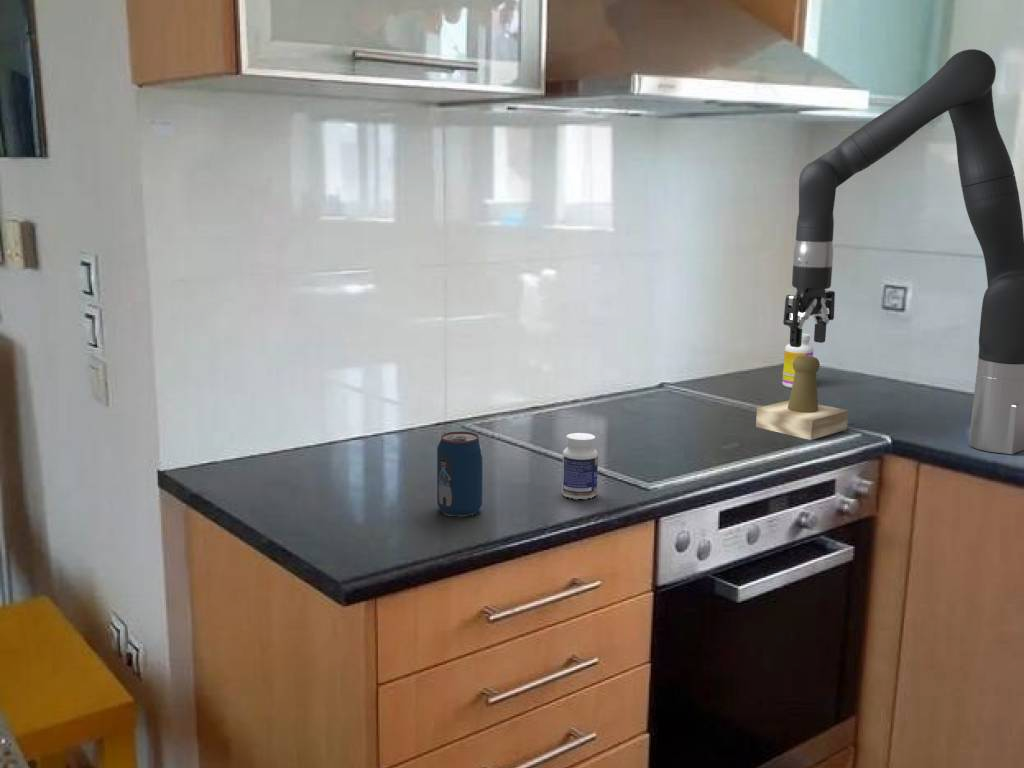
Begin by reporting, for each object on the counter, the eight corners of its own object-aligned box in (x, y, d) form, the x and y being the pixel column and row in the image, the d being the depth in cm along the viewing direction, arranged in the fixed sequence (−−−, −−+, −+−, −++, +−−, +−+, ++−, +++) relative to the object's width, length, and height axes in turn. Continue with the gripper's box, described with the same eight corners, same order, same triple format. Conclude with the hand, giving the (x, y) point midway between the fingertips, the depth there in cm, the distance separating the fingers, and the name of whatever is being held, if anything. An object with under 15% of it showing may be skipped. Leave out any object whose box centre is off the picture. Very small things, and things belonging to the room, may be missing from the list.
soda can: (486, 505, 163) (486, 431, 161) (477, 520, 157) (477, 443, 154) (442, 502, 164) (442, 429, 162) (432, 517, 158) (432, 441, 155)
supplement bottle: (805, 390, 248) (809, 337, 245) (778, 387, 251) (782, 334, 249) (814, 385, 253) (818, 333, 251) (787, 382, 257) (791, 331, 254)
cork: (824, 411, 210) (828, 358, 208) (799, 413, 208) (803, 360, 206) (805, 404, 216) (809, 352, 214) (781, 407, 214) (785, 354, 211)
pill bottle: (602, 499, 167) (604, 439, 165) (568, 502, 165) (570, 441, 163) (589, 488, 172) (591, 430, 170) (556, 491, 171) (558, 432, 169)
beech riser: (846, 429, 212) (848, 410, 211) (810, 440, 204) (812, 420, 203) (792, 417, 222) (793, 399, 221) (755, 426, 213) (757, 407, 213)
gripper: (808, 267, 198) (803, 351, 202) (849, 263, 208) (843, 343, 211) (775, 264, 204) (771, 346, 207) (816, 260, 213) (811, 338, 216)
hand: (807, 344), depth 209 cm, fingers open, 8 cm apart
